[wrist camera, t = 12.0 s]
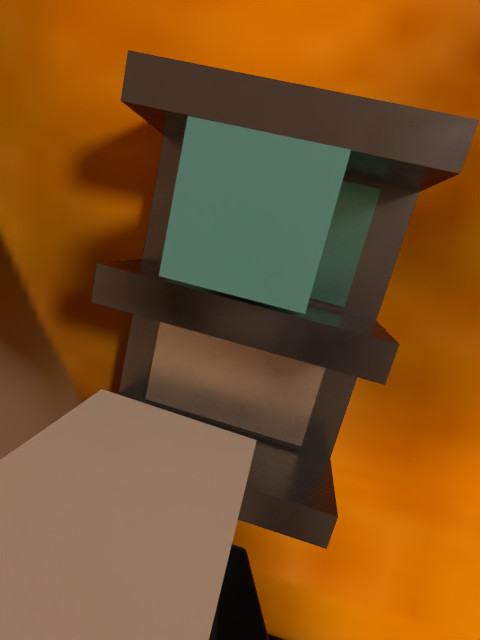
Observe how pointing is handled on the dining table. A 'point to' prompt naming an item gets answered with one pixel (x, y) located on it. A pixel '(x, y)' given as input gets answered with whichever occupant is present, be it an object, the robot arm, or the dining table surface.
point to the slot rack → (267, 320)
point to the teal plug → (251, 212)
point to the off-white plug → (118, 524)
